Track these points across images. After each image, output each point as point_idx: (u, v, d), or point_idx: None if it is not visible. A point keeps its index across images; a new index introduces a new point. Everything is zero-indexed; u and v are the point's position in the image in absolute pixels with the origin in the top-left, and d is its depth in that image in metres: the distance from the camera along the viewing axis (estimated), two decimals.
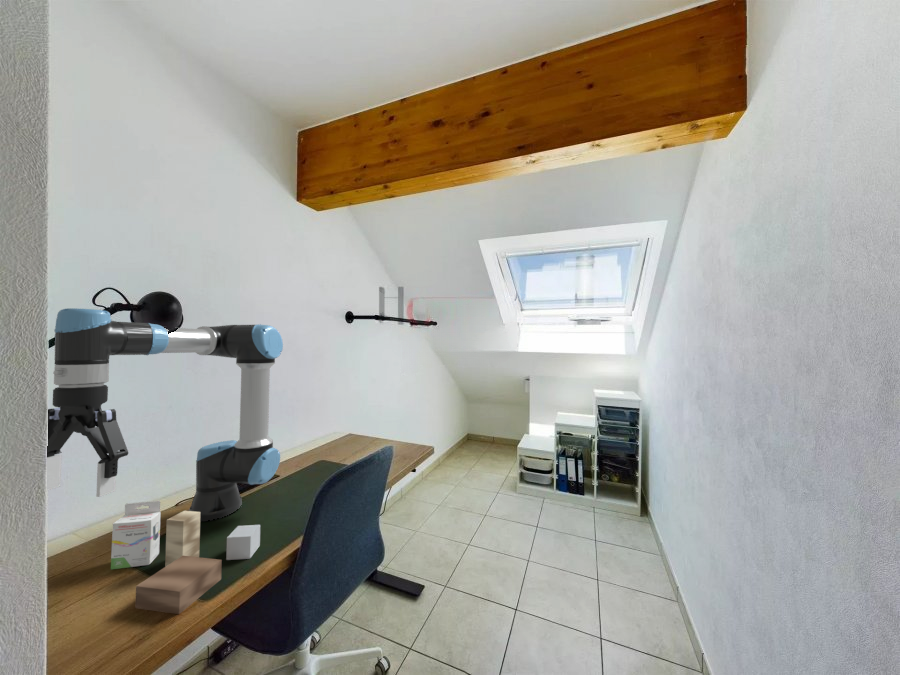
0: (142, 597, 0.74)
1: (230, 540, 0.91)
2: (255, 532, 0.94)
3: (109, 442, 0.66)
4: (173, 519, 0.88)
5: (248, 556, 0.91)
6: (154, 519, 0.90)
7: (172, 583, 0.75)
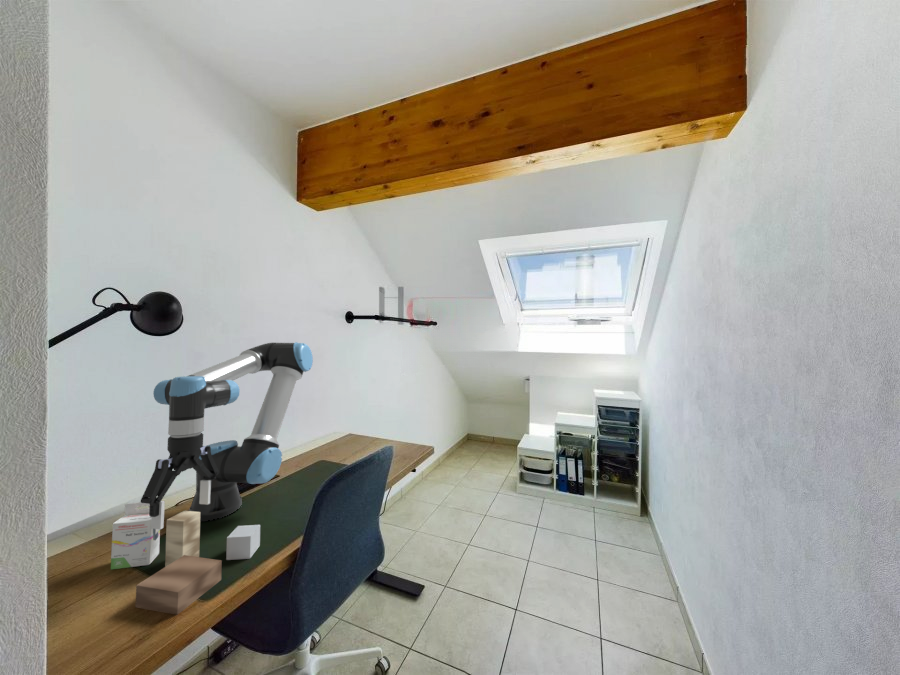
0: (142, 597, 0.74)
1: (230, 540, 0.91)
2: (255, 532, 0.94)
3: None
4: (173, 519, 0.88)
5: (248, 556, 0.91)
6: None
7: (171, 583, 0.75)
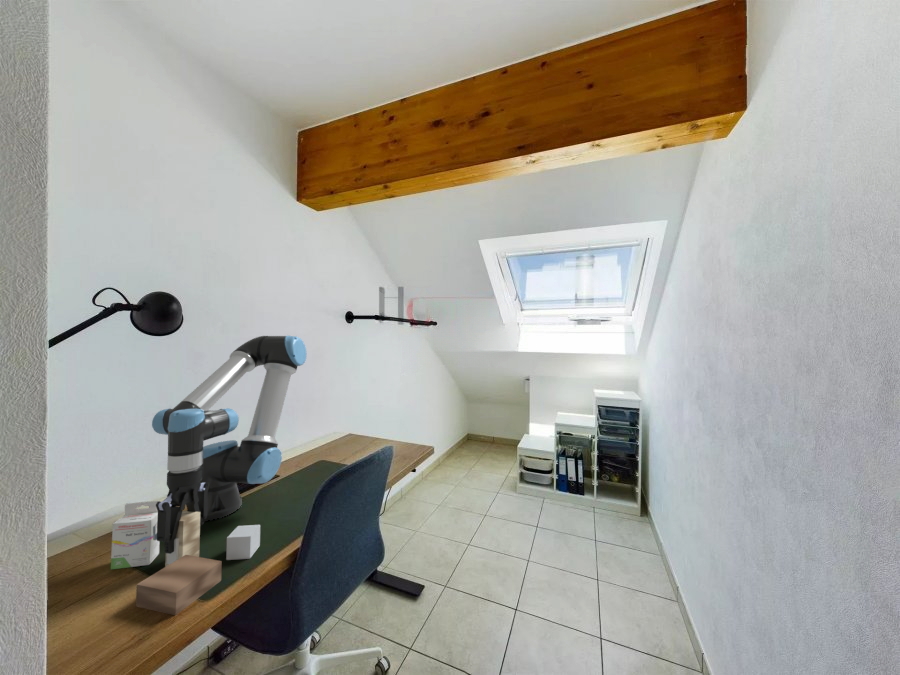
0: (142, 596, 0.74)
1: (230, 540, 0.91)
2: (255, 532, 0.94)
3: None
4: None
5: (248, 556, 0.91)
6: (154, 519, 0.90)
7: (170, 583, 0.75)
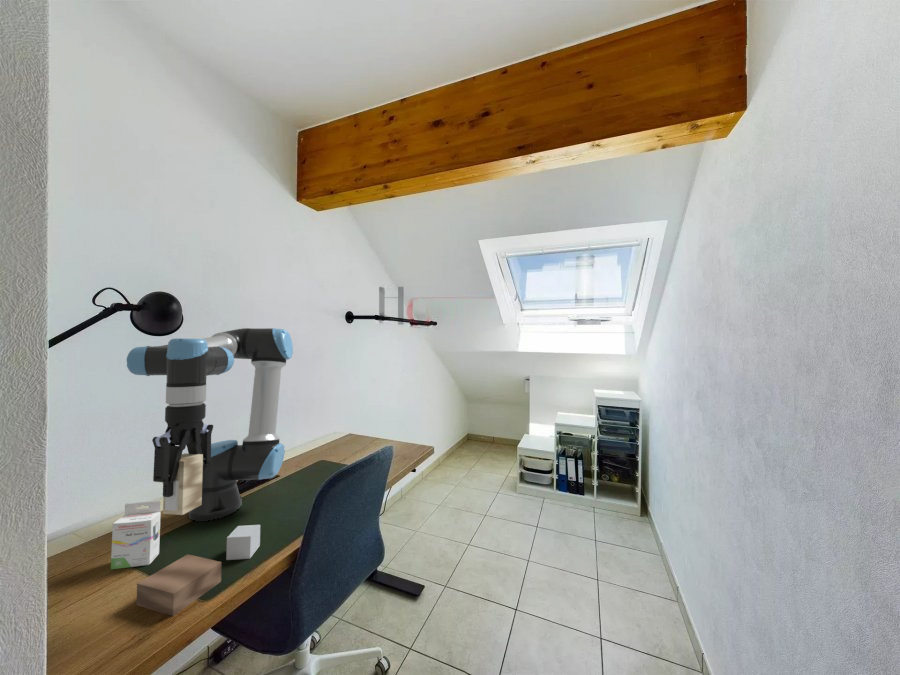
0: (142, 595, 0.74)
1: (230, 540, 0.91)
2: (255, 532, 0.94)
3: None
4: None
5: (248, 556, 0.91)
6: (154, 519, 0.90)
7: (169, 583, 0.75)
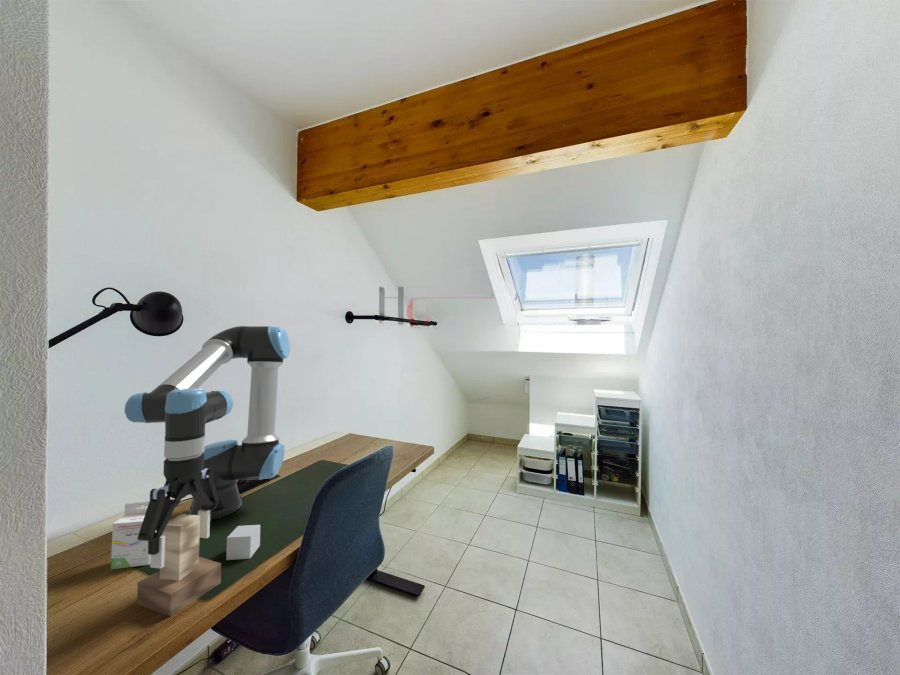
0: (142, 595, 0.74)
1: (230, 540, 0.91)
2: (255, 532, 0.94)
3: None
4: (169, 524, 0.77)
5: (248, 556, 0.91)
6: None
7: (168, 583, 0.75)
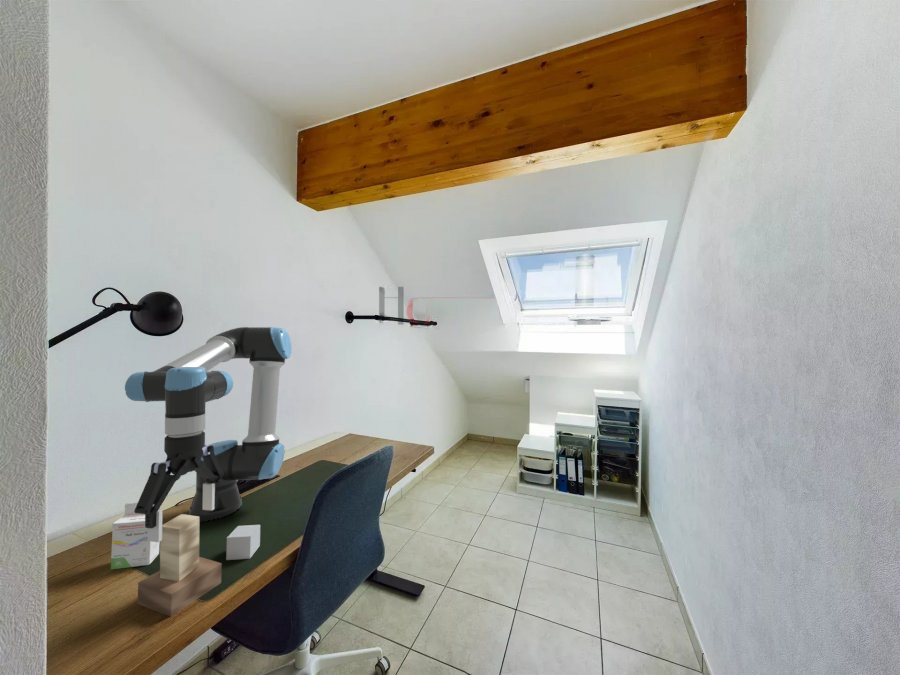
0: (143, 594, 0.74)
1: (230, 540, 0.91)
2: (255, 532, 0.94)
3: None
4: (167, 526, 0.76)
5: (248, 556, 0.91)
6: None
7: (168, 583, 0.75)
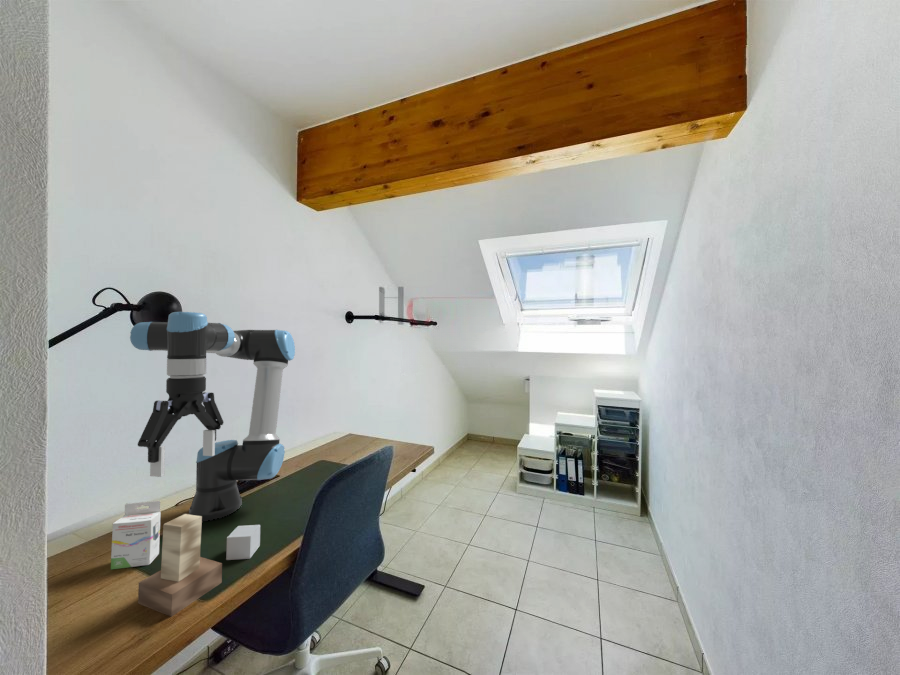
0: (143, 594, 0.74)
1: (230, 540, 0.91)
2: (255, 532, 0.94)
3: None
4: (170, 524, 0.77)
5: (248, 556, 0.91)
6: (154, 519, 0.90)
7: (169, 583, 0.75)
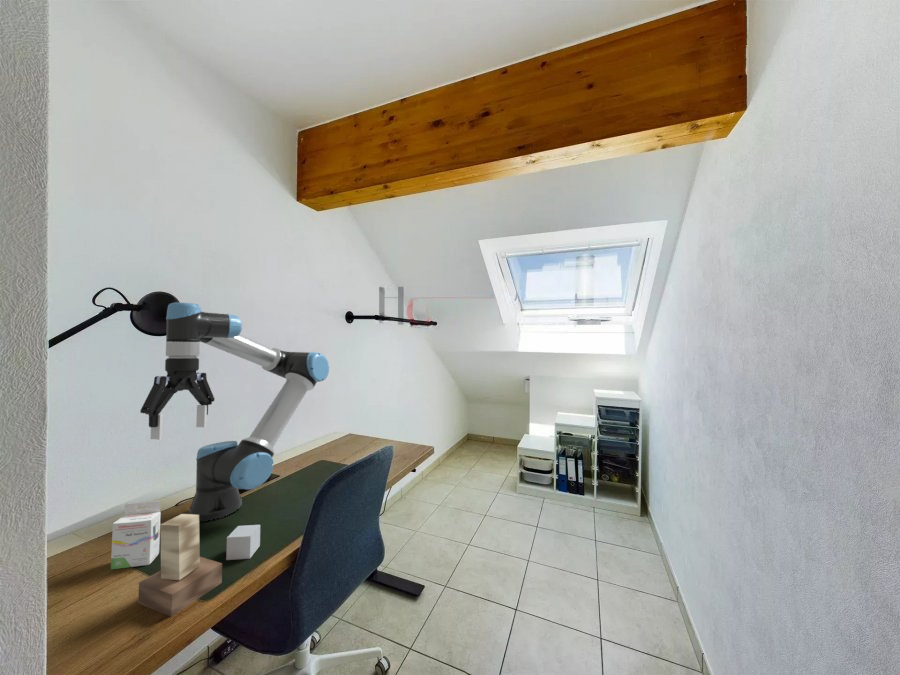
0: (143, 594, 0.75)
1: (230, 540, 0.91)
2: (255, 532, 0.94)
3: None
4: (167, 524, 0.77)
5: (248, 556, 0.91)
6: (154, 519, 0.90)
7: (169, 583, 0.75)
